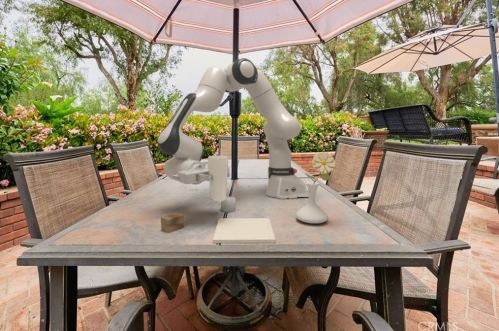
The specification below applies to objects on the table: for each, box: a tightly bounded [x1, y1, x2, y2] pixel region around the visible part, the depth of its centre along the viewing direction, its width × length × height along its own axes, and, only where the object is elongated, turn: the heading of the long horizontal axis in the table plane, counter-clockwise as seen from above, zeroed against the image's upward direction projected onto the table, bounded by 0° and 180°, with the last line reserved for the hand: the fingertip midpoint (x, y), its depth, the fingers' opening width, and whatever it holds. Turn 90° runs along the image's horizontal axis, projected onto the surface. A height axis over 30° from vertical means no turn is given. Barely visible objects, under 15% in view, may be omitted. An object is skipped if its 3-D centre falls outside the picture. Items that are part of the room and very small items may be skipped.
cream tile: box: [212, 217, 276, 244], centre depth 81 cm, size 18×18×1 cm
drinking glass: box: [207, 155, 229, 202], centre depth 86 cm, size 7×7×15 cm
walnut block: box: [160, 212, 185, 234], centre depth 82 cm, size 6×4×4 cm, turn 141°
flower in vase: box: [295, 151, 337, 224], centre depth 89 cm, size 13×11×25 cm
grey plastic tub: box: [220, 195, 237, 213], centre depth 103 cm, size 6×6×5 cm
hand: (220, 176), depth 85 cm, fingers closed on drinking glass, 6 cm apart
